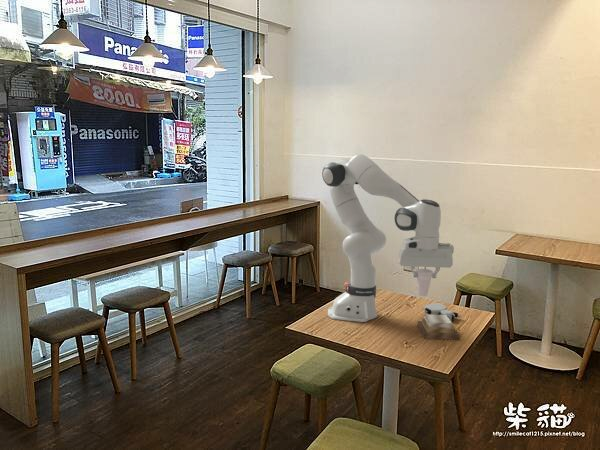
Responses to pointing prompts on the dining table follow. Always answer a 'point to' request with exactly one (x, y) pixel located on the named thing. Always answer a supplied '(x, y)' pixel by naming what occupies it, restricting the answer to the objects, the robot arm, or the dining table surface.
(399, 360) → the dining table surface
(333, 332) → the dining table surface
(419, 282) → the smoothie
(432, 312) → the robot toy
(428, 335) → the square stepped pedestal
